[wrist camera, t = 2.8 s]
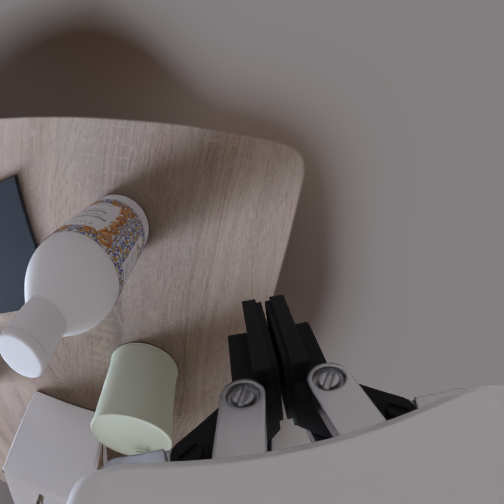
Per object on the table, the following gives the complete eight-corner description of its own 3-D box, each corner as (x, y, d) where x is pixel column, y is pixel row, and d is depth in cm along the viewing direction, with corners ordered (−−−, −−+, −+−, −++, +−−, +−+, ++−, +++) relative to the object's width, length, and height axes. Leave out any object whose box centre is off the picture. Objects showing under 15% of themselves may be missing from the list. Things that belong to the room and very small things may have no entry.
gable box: (34, 388, 37) (-16, 526, 11) (106, 413, 40) (79, 568, 14) (52, 448, 44) (27, 551, 18) (107, 466, 47) (95, 575, 22)
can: (131, 394, 38) (118, 462, 27) (98, 349, 35) (72, 419, 24) (188, 384, 38) (186, 458, 27) (160, 335, 35) (146, 413, 24)
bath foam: (151, 195, 28) (62, 309, 10) (149, 260, 31) (92, 416, 13) (87, 191, 27) (-46, 285, 9) (89, 254, 30) (-6, 387, 11)
